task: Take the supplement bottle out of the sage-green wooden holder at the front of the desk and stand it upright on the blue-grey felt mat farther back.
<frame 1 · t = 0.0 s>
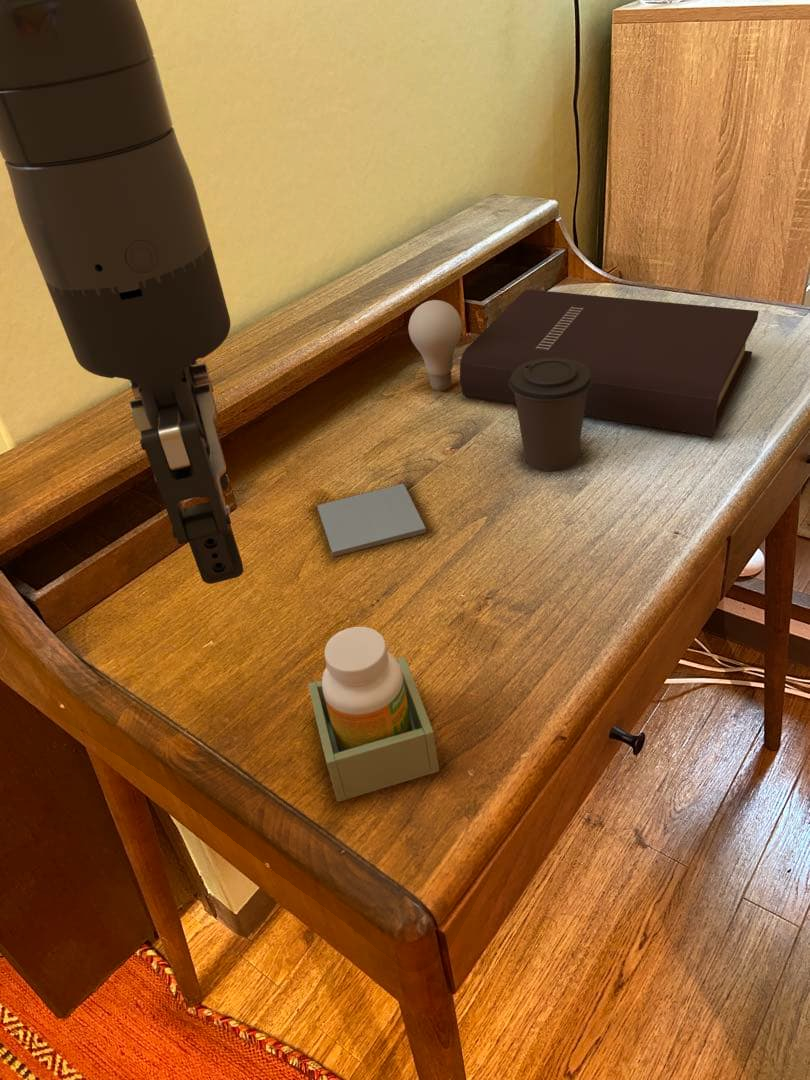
hand: (217, 531, 47), 20 cm above the table, tool pointing down, fingers open, 8 cm apart
supplement bottle: (376, 744, 58), resting on caddy
caddy: (376, 745, 58), on the table
coffee cup: (551, 458, 85), on the table
book: (606, 382, 96), on the table
lightbulb: (441, 391, 99), on the table
mat: (370, 521, 80), on the table
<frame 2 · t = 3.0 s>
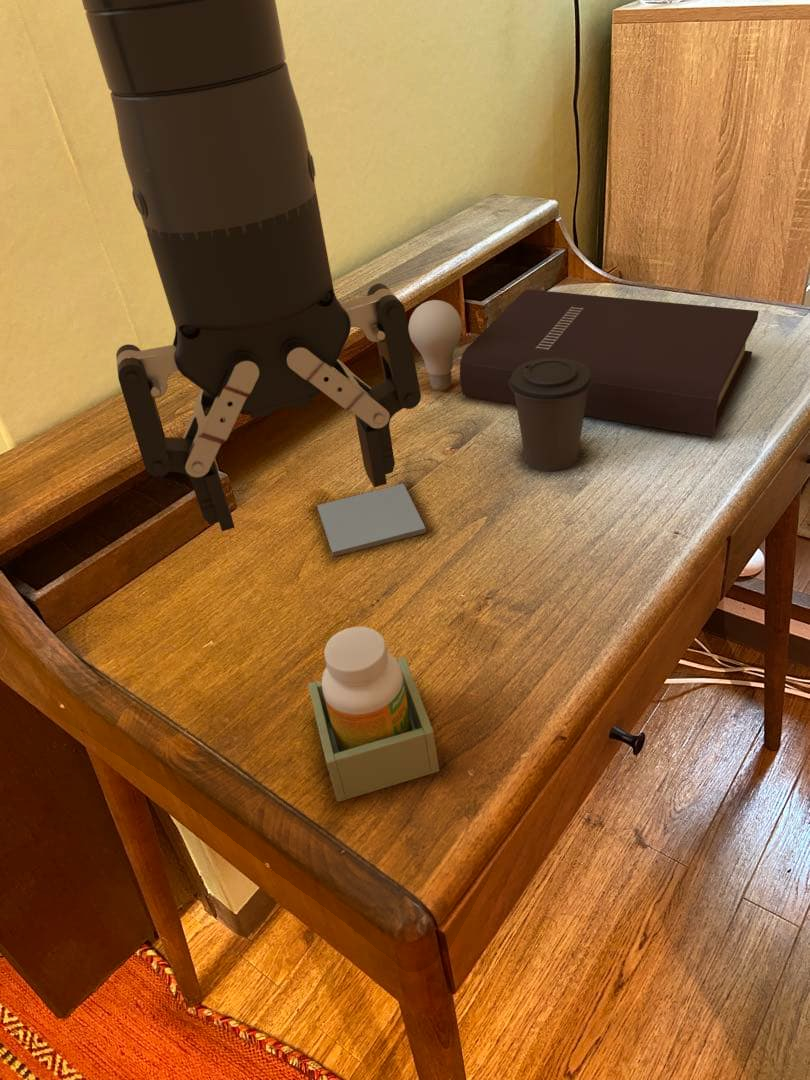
hand: (302, 500, 45), 22 cm above the table, tool pointing down, fingers open, 8 cm apart
nothing on the table moved.
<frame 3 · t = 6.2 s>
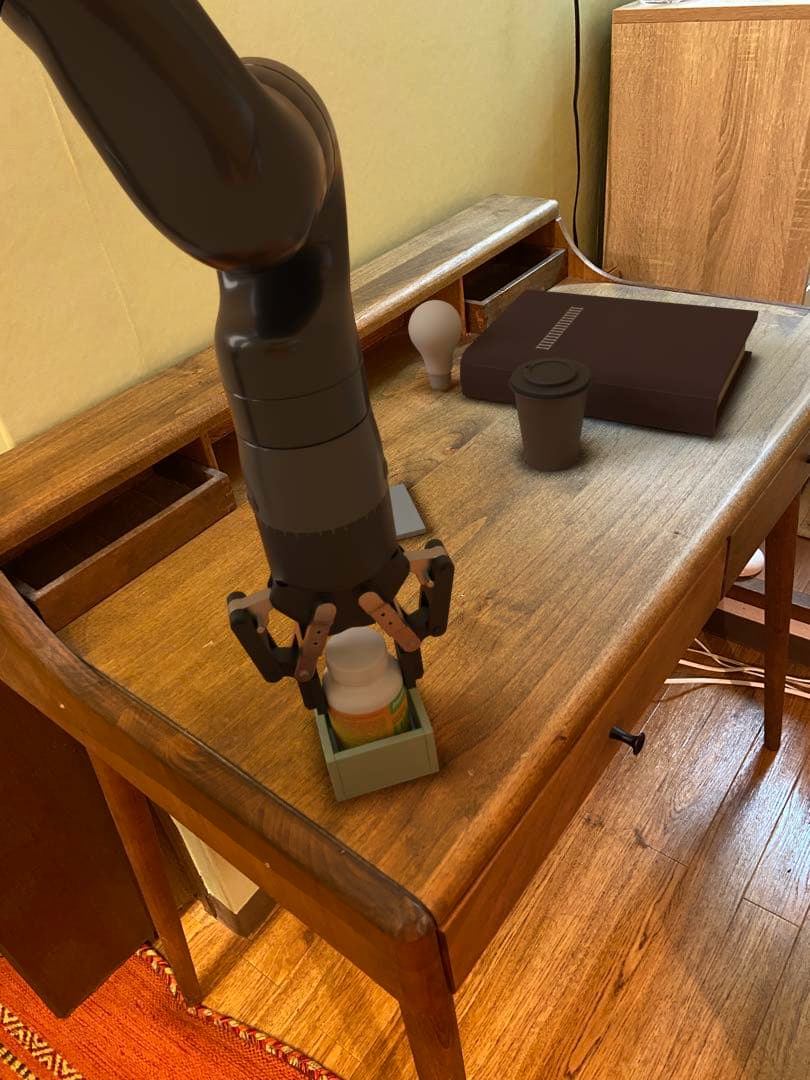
hand: (364, 691, 55), 6 cm above the table, tool pointing down, fingers closed on supplement bottle, 5 cm apart
supplement bottle: (376, 744, 58), resting on caddy, touching gripper
everything else where it was.
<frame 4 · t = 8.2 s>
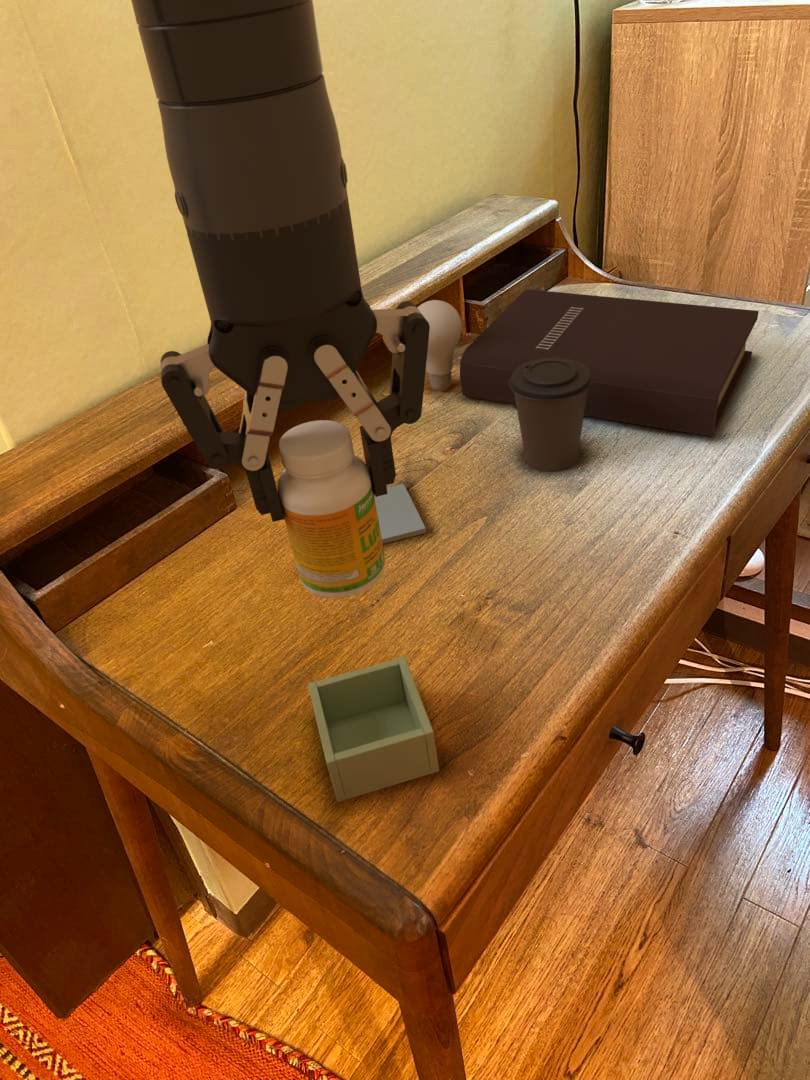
hand: (327, 499, 48), 20 cm above the table, tool pointing down, fingers closed on supplement bottle, 5 cm apart
supplement bottle: (343, 574, 51), point 15 cm above the table, touching gripper
everything else where it was.
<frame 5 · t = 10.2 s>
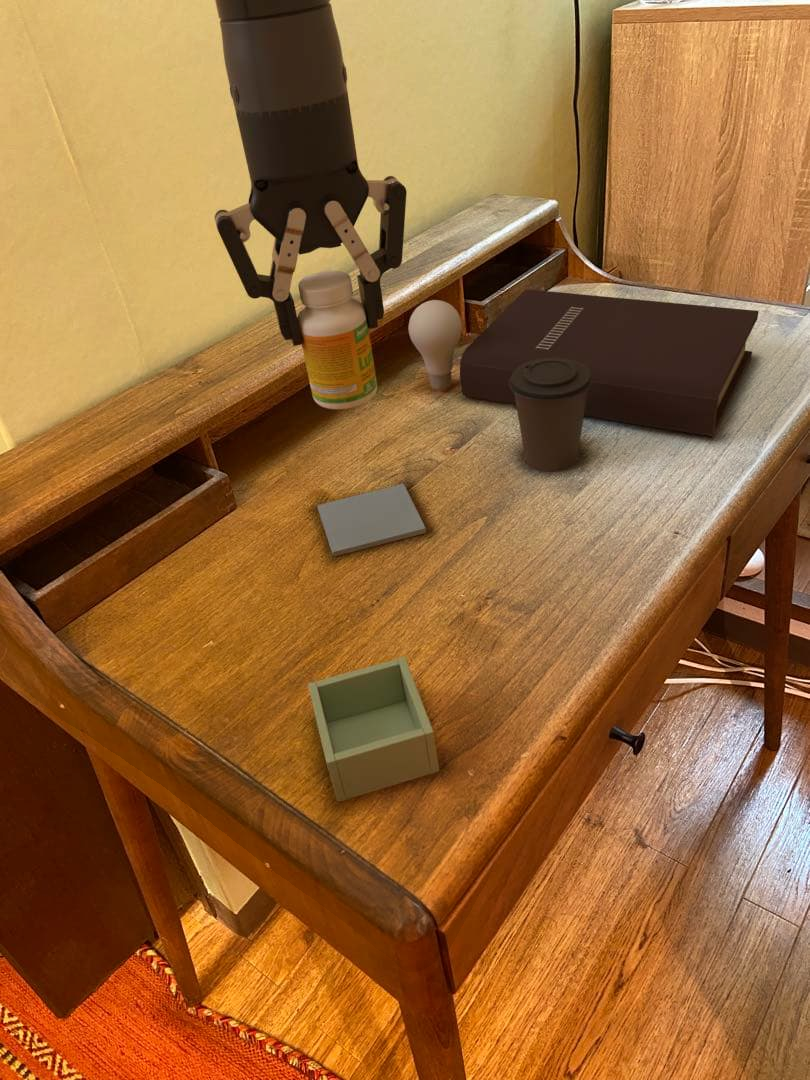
hand: (333, 332, 64), 21 cm above the table, tool pointing down, fingers closed on supplement bottle, 5 cm apart
supplement bottle: (346, 396, 68), point 15 cm above the table, touching gripper
everything else where it was.
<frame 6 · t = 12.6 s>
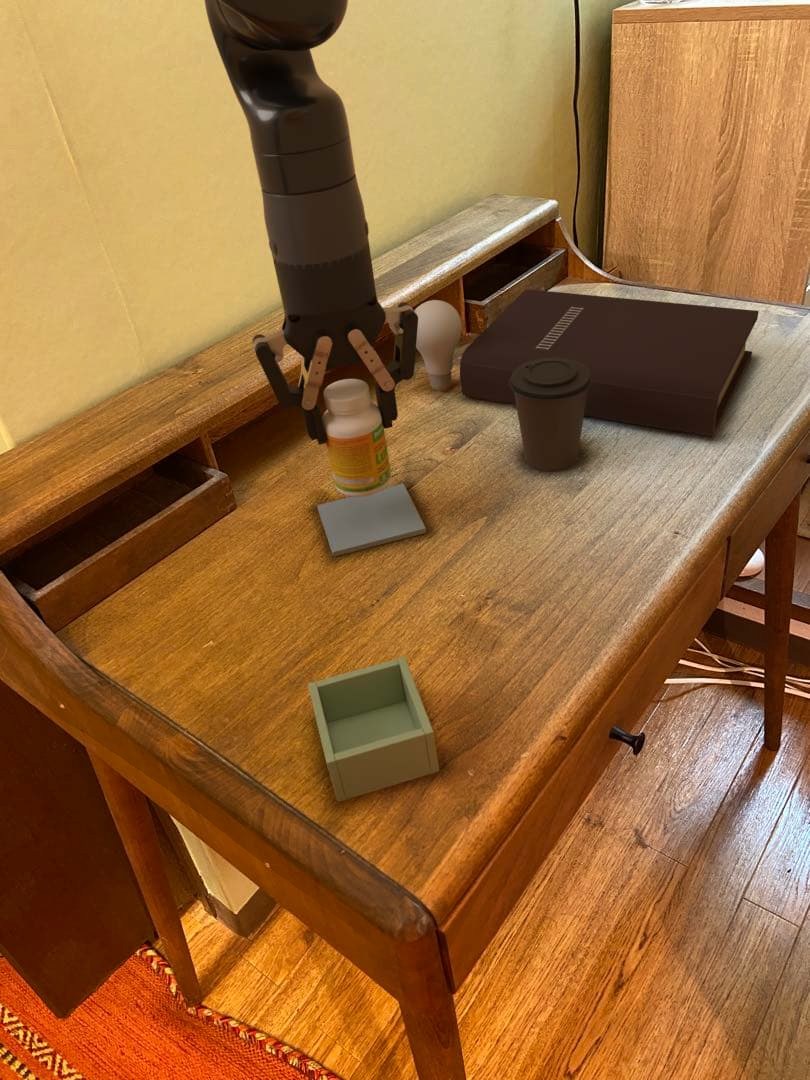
hand: (353, 431, 73), 10 cm above the table, tool pointing down, fingers closed on supplement bottle, 5 cm apart
supplement bottle: (363, 483, 77), point 4 cm above the table, touching gripper
everything else where it was.
when the fingers open (6 cm above the table, at t = 14.2 s): supplement bottle stays where it is, resting on mat.
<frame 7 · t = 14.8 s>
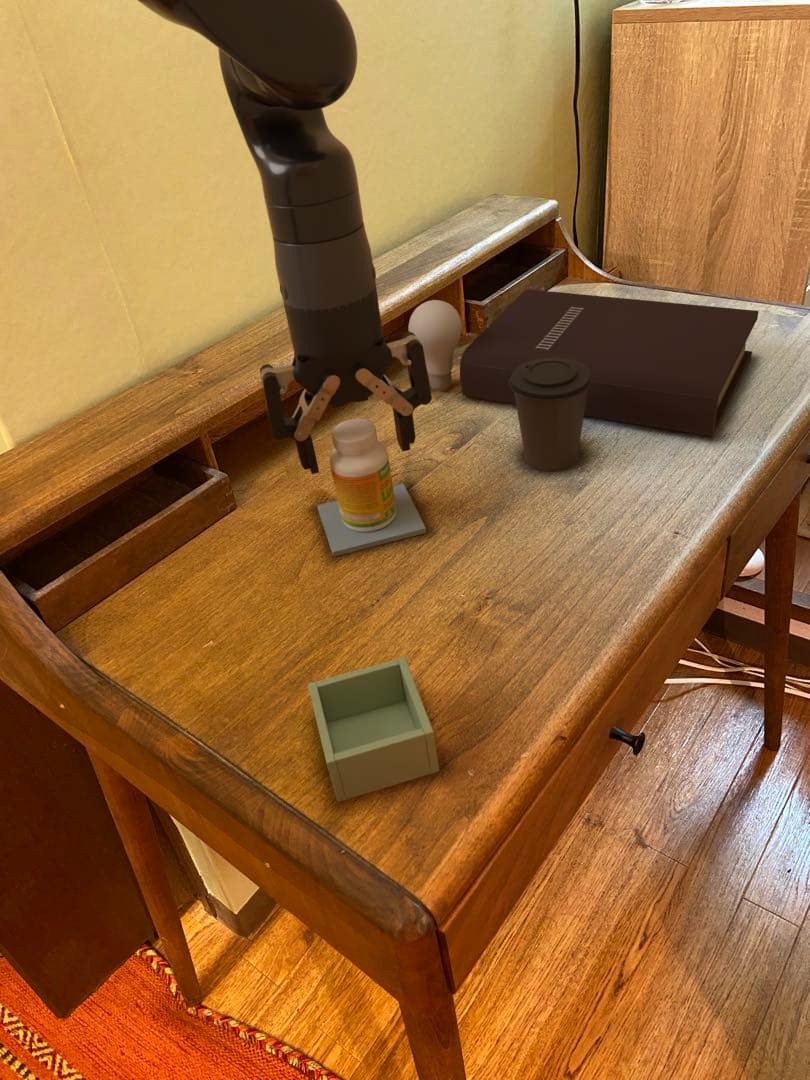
hand: (359, 458, 75), 7 cm above the table, tool pointing down, fingers open, 8 cm apart
supplement bottle: (369, 517, 79), resting on mat
everything else where it was.
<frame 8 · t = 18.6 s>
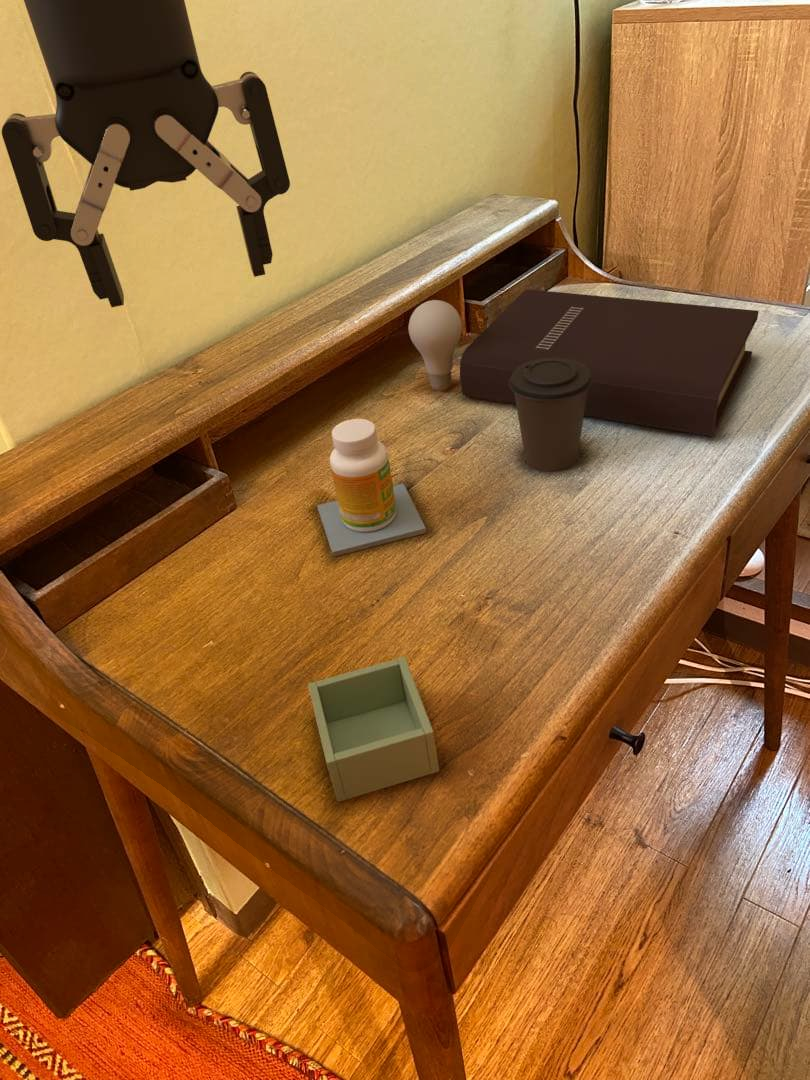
hand: (188, 287, 50), 30 cm above the table, tool pointing down, fingers open, 8 cm apart
nothing on the table moved.
at the end: supplement bottle inside the target area on the mat (0.0 cm from its centre), point 0.4 cm above the mat's base; supplement bottle tilted 0°; the gripper is holding nothing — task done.
